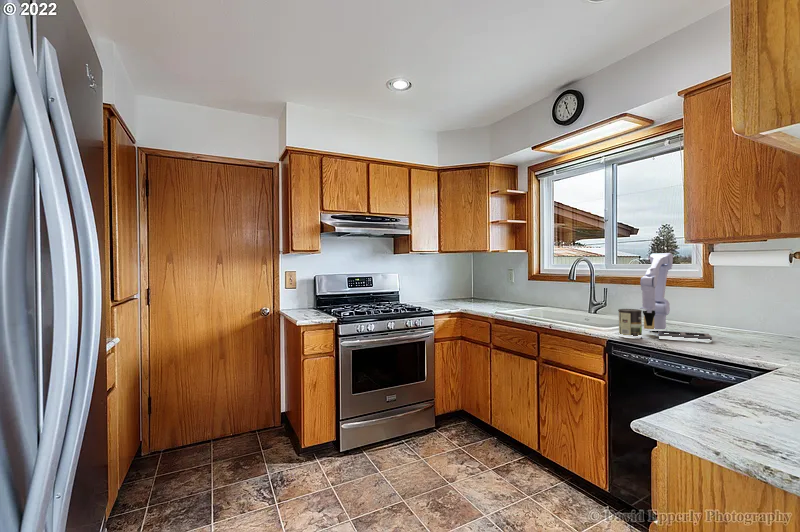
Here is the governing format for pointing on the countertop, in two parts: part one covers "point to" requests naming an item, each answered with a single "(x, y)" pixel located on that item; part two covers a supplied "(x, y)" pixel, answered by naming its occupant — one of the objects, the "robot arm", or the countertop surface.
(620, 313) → the coffee can
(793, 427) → the countertop surface
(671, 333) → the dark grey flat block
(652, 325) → the tan rectangular block
